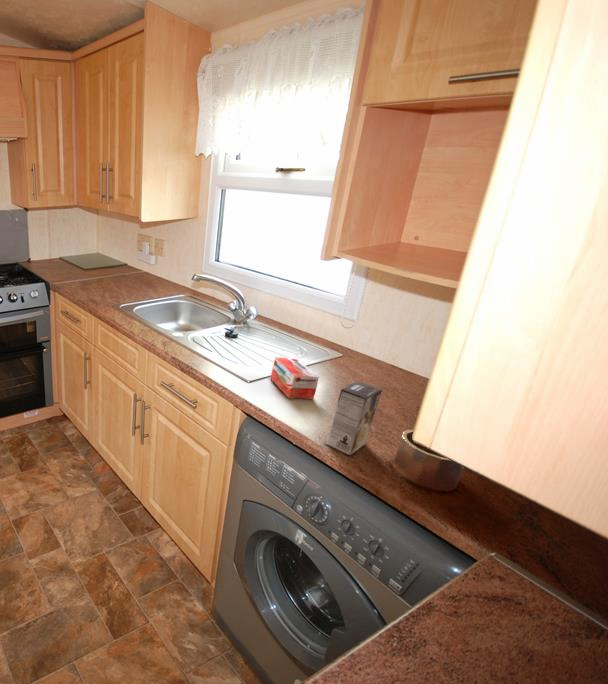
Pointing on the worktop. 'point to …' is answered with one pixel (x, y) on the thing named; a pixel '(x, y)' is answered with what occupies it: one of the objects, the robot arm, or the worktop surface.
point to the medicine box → (294, 378)
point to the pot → (425, 465)
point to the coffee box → (353, 417)
